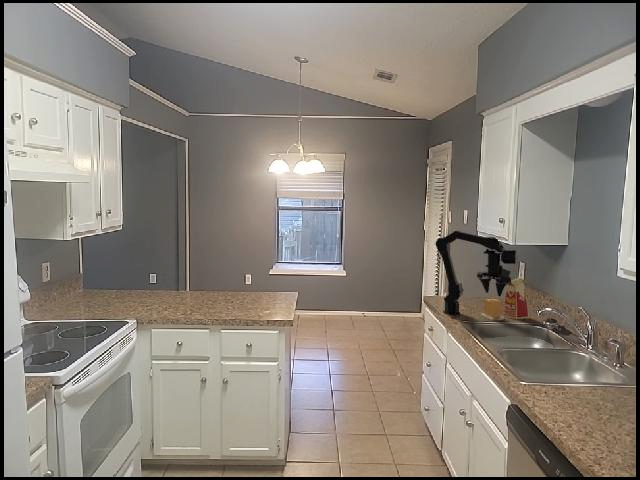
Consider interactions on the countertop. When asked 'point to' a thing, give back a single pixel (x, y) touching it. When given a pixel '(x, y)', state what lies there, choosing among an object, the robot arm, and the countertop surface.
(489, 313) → the tan cardboard-colored cube
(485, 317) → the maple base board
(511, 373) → the countertop surface
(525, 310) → the milk carton
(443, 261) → the robot arm
